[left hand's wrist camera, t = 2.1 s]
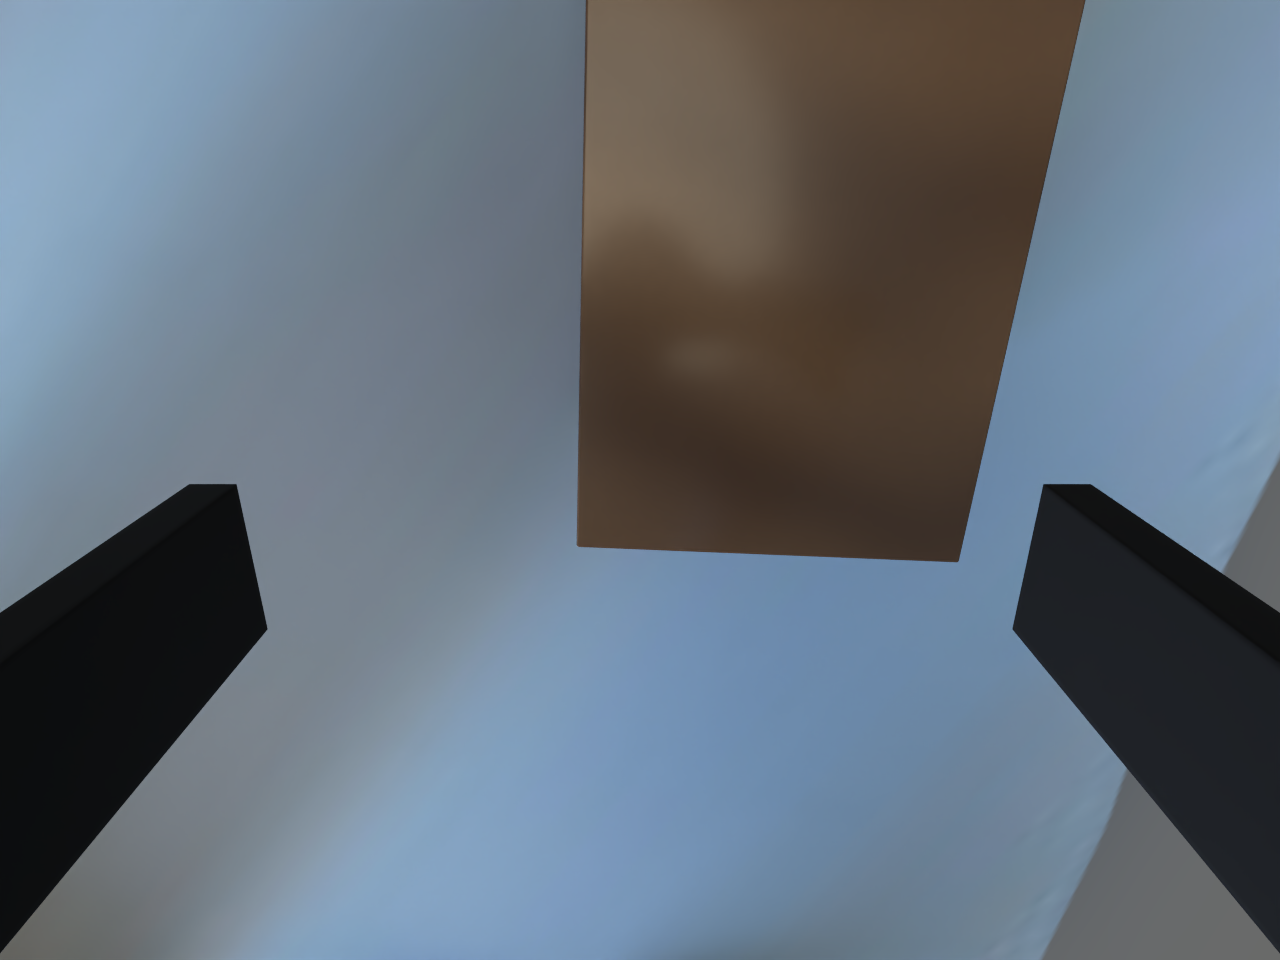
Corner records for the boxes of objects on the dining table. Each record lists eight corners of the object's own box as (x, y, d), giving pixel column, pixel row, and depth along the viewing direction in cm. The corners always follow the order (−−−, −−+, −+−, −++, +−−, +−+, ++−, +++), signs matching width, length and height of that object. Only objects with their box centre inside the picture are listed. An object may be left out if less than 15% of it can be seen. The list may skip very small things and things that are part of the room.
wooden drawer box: (614, -222, 23) (594, -539, 13) (955, -202, 23) (1199, -499, 13) (597, 426, 31) (576, 547, 21) (853, 437, 31) (959, 563, 21)
